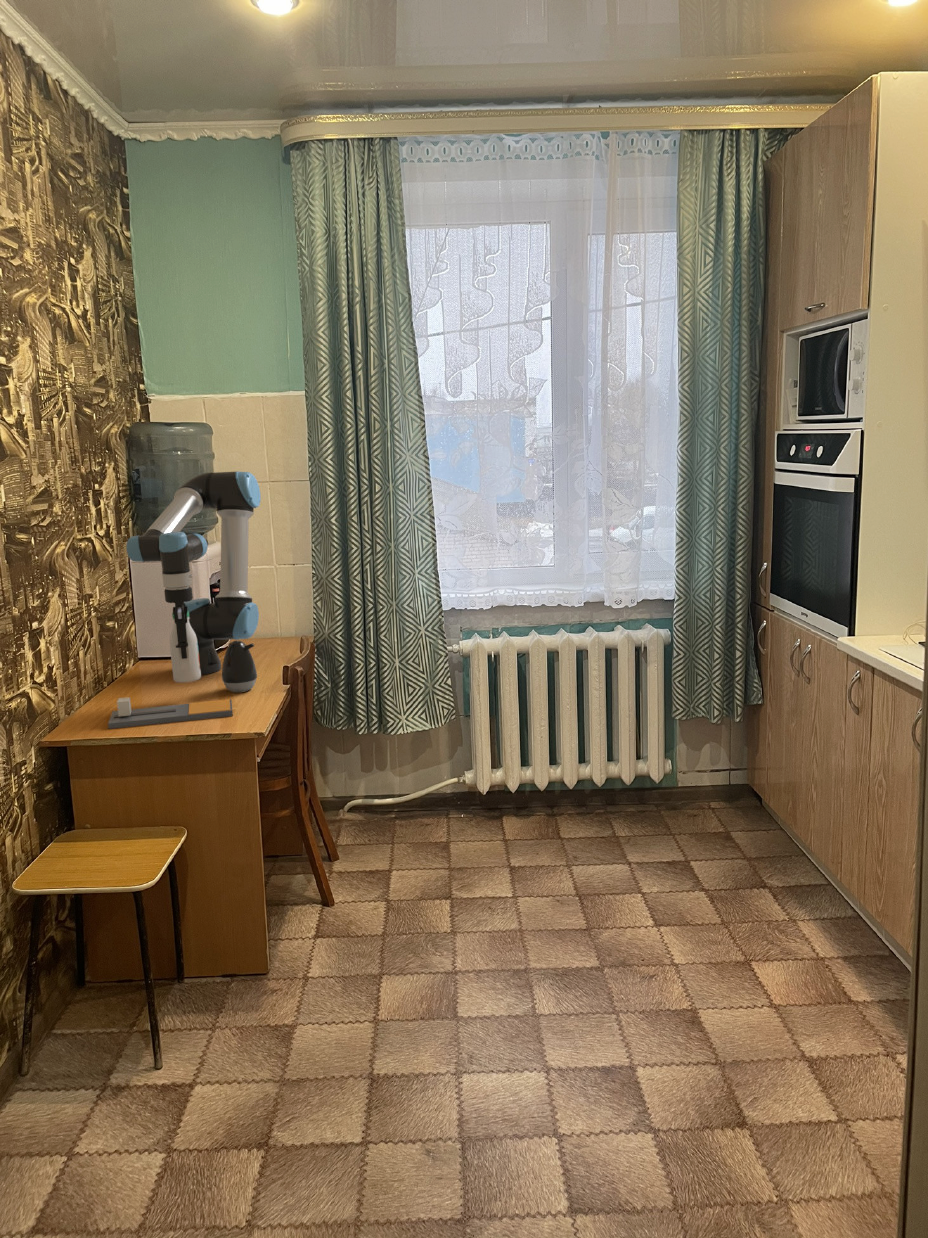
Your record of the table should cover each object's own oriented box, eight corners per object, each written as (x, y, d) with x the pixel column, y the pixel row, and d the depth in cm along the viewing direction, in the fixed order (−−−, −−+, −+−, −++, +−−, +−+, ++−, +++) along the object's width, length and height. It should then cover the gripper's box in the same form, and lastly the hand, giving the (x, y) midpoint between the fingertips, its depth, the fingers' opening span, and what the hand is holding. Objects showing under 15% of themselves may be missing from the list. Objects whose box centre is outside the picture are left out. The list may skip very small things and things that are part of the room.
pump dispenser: (250, 695, 285) (246, 644, 282) (217, 694, 287) (212, 644, 284) (264, 686, 294) (260, 637, 291) (232, 685, 296) (228, 636, 293)
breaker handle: (119, 712, 264) (118, 698, 263) (131, 711, 265) (129, 697, 264) (118, 716, 260) (116, 702, 260) (130, 715, 261) (128, 701, 260)
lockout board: (113, 716, 268) (112, 710, 268) (231, 704, 275) (231, 698, 275) (108, 728, 256) (108, 722, 256) (232, 715, 264) (232, 709, 264)
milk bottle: (200, 681, 276) (193, 613, 272) (172, 684, 275) (164, 615, 271) (202, 674, 284) (195, 608, 280) (175, 677, 283) (168, 610, 278)
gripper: (190, 592, 265) (199, 673, 270) (192, 580, 284) (199, 655, 289) (162, 594, 263) (171, 675, 268) (165, 582, 283) (173, 658, 287)
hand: (186, 665), depth 279 cm, fingers closed on milk bottle, 8 cm apart
